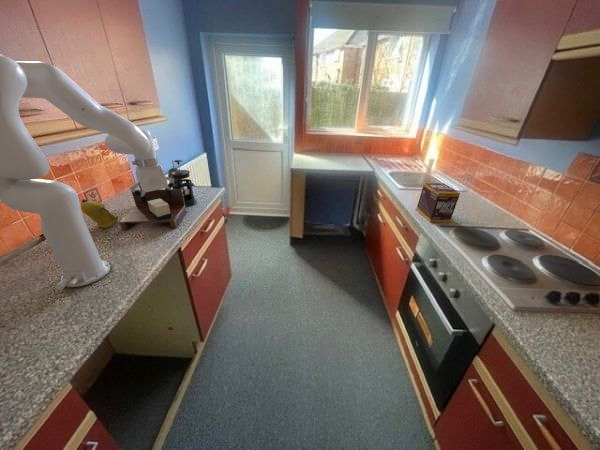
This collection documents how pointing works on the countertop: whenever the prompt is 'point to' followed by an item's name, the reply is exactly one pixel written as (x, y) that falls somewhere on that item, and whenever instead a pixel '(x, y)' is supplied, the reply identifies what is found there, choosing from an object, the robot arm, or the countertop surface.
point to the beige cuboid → (159, 209)
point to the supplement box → (437, 202)
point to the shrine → (98, 213)
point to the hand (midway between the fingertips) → (157, 201)
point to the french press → (188, 192)
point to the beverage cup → (173, 178)
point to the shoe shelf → (143, 215)
